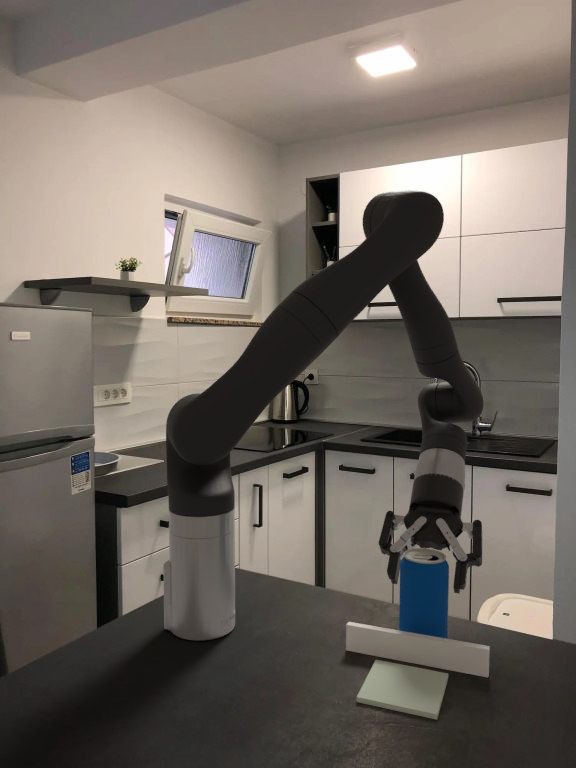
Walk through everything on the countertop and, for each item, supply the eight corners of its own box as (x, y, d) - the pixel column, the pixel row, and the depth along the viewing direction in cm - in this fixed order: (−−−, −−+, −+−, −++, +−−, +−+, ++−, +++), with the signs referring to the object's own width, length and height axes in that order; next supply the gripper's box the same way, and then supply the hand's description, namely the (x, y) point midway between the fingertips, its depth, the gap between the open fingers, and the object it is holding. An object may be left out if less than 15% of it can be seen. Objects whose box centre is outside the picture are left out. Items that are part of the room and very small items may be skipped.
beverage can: (448, 654, 83) (450, 565, 82) (398, 649, 84) (399, 561, 83) (446, 632, 89) (448, 548, 88) (399, 628, 90) (400, 545, 89)
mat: (356, 702, 72) (356, 696, 72) (375, 664, 80) (375, 659, 80) (437, 719, 68) (437, 714, 68) (448, 678, 77) (448, 673, 77)
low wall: (346, 650, 84) (346, 624, 83) (348, 646, 85) (348, 621, 84) (488, 677, 77) (488, 649, 77) (488, 673, 78) (489, 646, 78)
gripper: (388, 468, 96) (369, 567, 86) (486, 475, 91) (477, 581, 81) (395, 494, 101) (377, 590, 92) (488, 503, 96) (480, 605, 86)
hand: (424, 586), depth 86 cm, fingers open, 8 cm apart
